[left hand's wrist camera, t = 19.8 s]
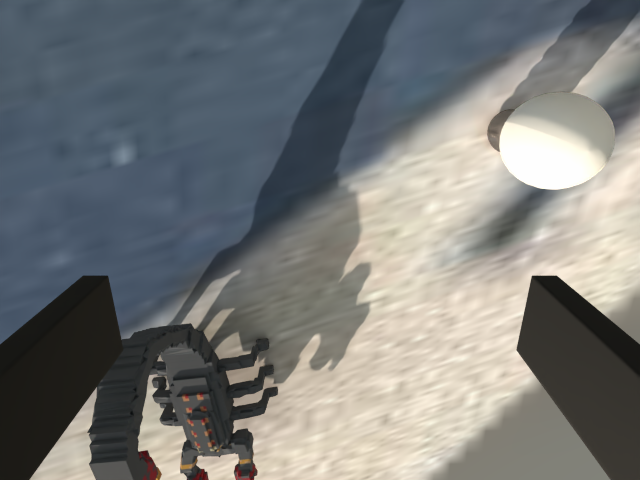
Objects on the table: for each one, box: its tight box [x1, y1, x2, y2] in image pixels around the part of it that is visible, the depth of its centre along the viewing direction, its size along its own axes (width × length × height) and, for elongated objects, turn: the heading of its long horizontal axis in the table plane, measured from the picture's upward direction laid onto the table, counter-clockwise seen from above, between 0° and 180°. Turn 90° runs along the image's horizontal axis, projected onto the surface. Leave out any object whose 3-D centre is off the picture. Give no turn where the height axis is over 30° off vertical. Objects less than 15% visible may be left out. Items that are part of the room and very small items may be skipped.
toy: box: [87, 324, 278, 480], centre depth 37 cm, size 13×27×18 cm, turn 7°
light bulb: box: [488, 92, 615, 189], centre depth 31 cm, size 7×7×11 cm
